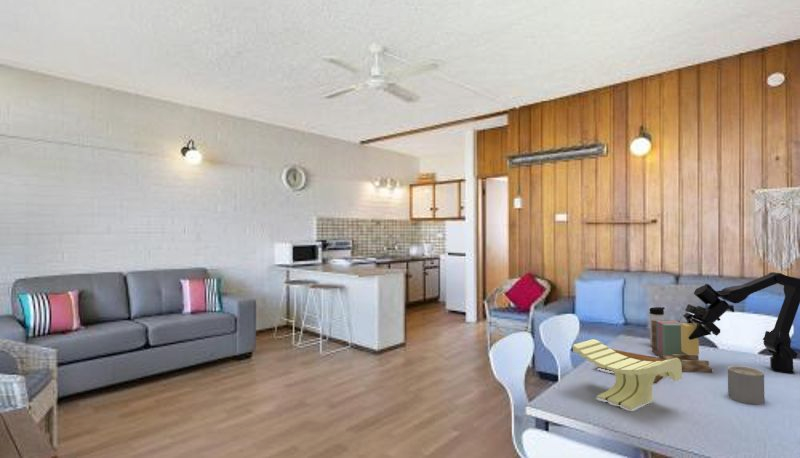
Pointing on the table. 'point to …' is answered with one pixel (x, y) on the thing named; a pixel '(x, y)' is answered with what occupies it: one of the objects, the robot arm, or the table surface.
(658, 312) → the travel mug
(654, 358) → the diary
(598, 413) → the table surface
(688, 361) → the shelf slot board
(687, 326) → the pale yellow cuboid
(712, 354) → the table surface
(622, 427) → the table surface
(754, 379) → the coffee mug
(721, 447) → the table surface
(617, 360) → the slatted curved stool
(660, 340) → the book row
